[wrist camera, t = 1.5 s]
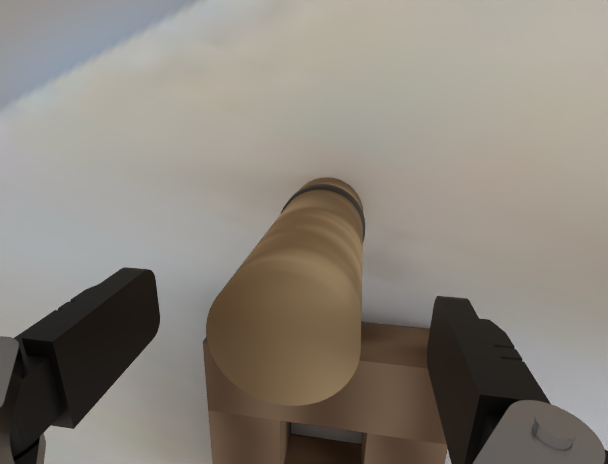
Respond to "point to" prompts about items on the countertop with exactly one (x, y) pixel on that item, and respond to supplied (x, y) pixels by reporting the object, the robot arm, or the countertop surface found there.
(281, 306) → the oak peg
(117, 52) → the countertop surface
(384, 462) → the walnut board
